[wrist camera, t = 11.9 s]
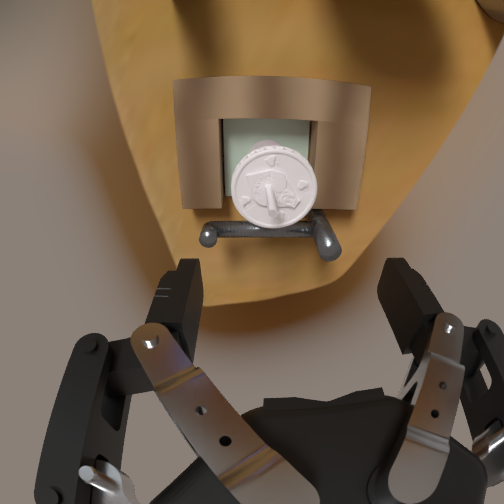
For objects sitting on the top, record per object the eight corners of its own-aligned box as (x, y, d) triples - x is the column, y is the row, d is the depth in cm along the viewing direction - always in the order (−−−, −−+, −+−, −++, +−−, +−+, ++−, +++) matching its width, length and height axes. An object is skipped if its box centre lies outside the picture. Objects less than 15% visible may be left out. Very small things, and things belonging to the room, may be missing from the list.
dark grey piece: (321, 200, 32) (343, 242, 24) (319, 215, 33) (339, 261, 25) (207, 199, 32) (194, 242, 24) (208, 215, 33) (197, 261, 25)
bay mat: (309, 118, 27) (310, 118, 27) (304, 195, 32) (304, 196, 31) (223, 117, 27) (223, 117, 26) (225, 194, 31) (225, 196, 31)
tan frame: (360, 85, 25) (371, 86, 22) (348, 198, 32) (356, 209, 29) (180, 79, 24) (172, 80, 22) (188, 197, 32) (182, 209, 29)
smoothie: (256, 115, 26) (263, 144, 15) (309, 147, 28) (354, 202, 17) (224, 167, 29) (207, 235, 18) (276, 195, 31) (293, 277, 20)
